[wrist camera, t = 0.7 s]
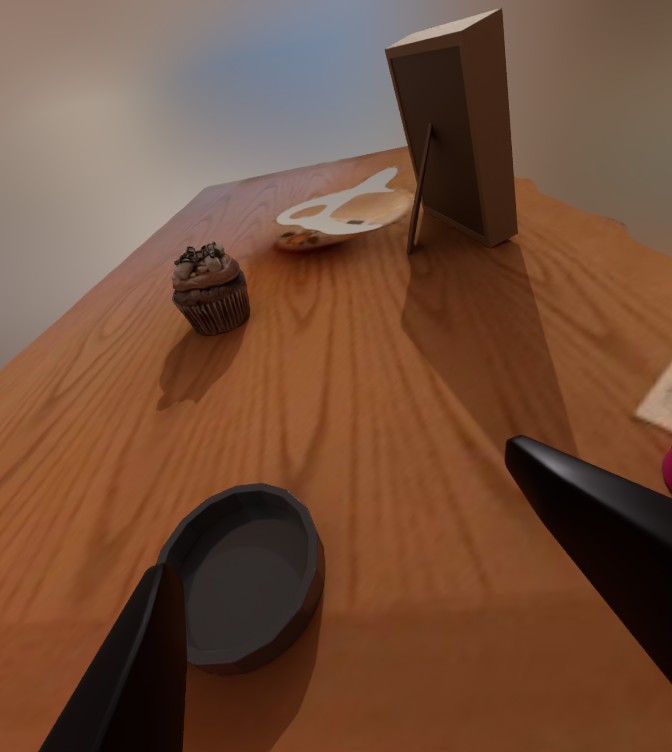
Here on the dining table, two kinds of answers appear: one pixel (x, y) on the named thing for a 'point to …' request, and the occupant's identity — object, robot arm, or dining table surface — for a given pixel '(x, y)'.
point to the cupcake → (210, 290)
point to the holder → (246, 576)
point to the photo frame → (458, 125)
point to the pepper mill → (668, 468)
